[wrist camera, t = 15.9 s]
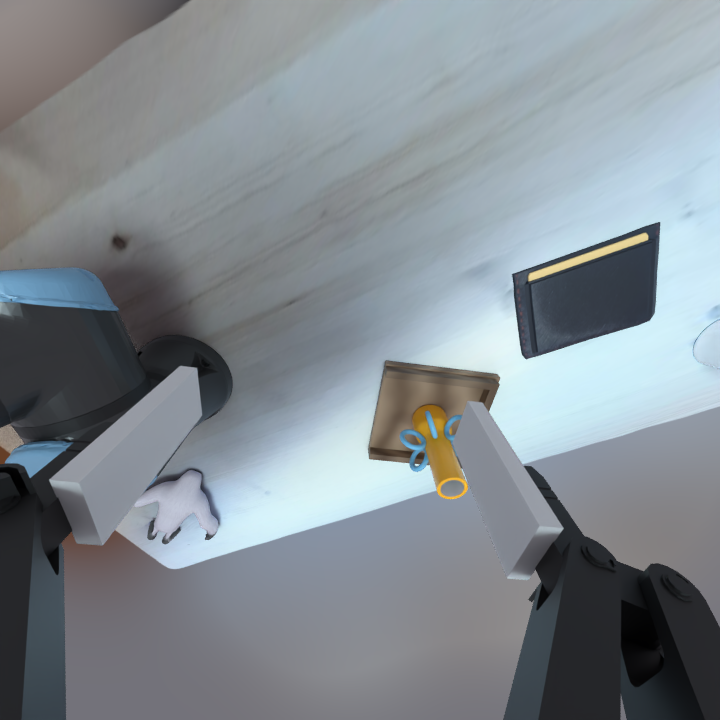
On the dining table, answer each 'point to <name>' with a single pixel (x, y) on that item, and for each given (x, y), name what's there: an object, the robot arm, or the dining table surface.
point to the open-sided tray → (422, 403)
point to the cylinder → (437, 449)
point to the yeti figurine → (178, 506)
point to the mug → (709, 346)
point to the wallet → (588, 292)
